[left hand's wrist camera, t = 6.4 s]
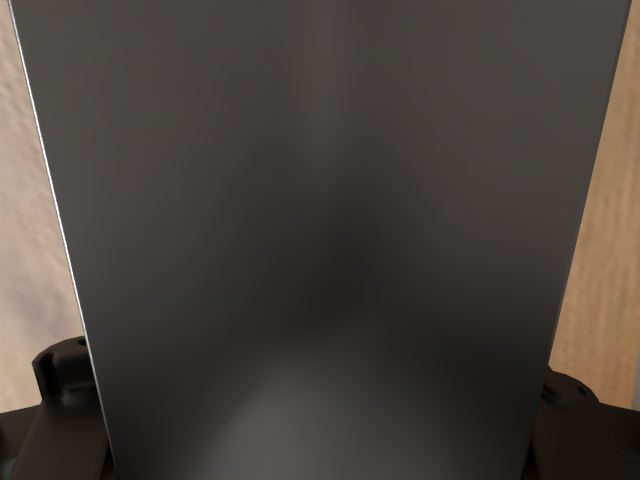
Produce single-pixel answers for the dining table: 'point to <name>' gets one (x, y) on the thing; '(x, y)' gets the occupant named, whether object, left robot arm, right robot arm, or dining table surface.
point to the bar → (319, 222)
